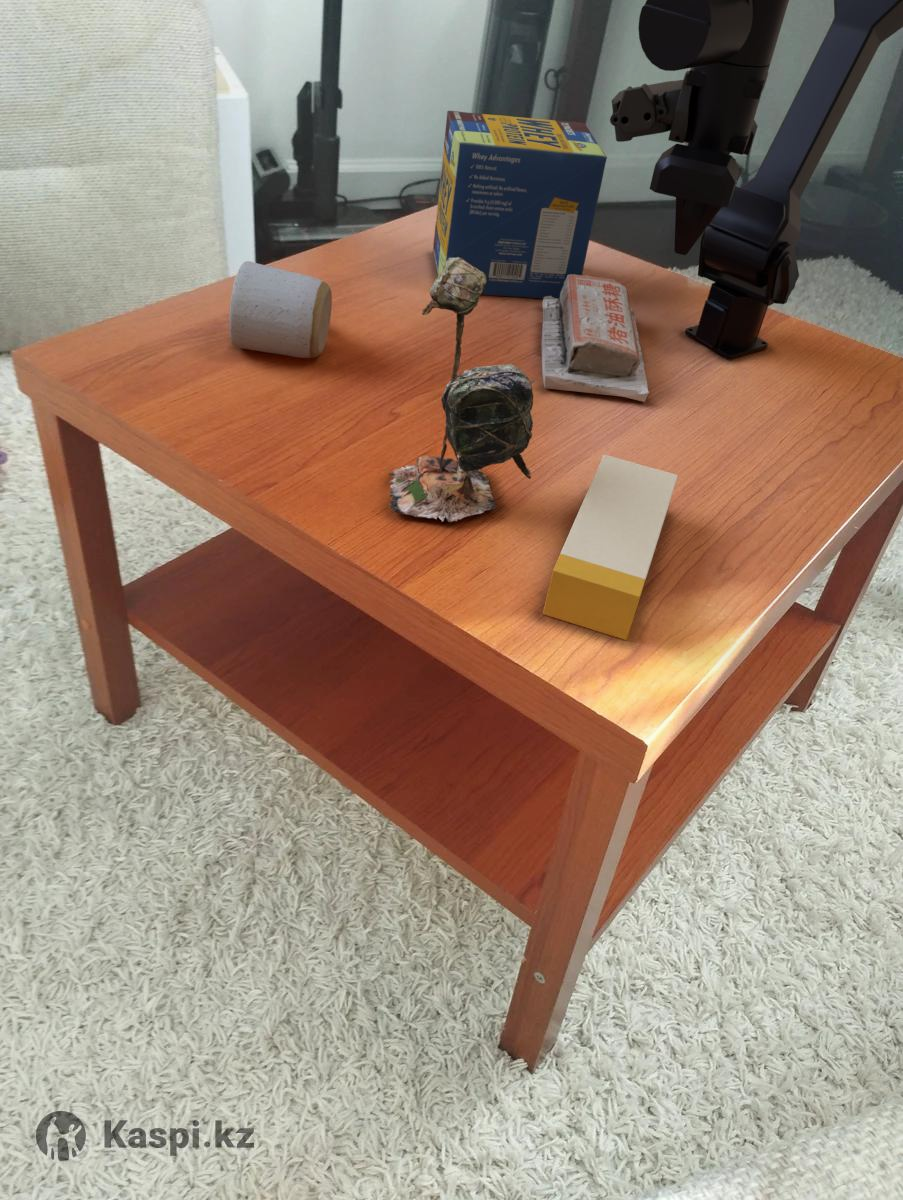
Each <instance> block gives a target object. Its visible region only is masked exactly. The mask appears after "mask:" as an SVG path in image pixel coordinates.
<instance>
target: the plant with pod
mask: <svg viewBox="0 0 903 1200" xmlns="http://www.w3.org/2000/svg"><path fill="white" fill-rule="evenodd" d="M485 284H486V276H485V274H484V273H483V272H481V271H480V270H478V269H477V268H476V267H473V266H472V265H470V264H469V263H468V262H466V261H465V260H463V259H462V258H459V257H455V258H453V257H450V258H448V259H447V261H446V262H445V265H444V267H443V270H442V273H441V274H440V275H439V276H438V275H437V277H436V278H435V279H434V281H433V283H432V285H431V288H430V289H429V295H430V298H431V300H430V301H429V302H427V303H426V306H425V307H424V308H423V309H422V311H421V314H422V315H423V316H427V315H429V314H430V313H431V311H432V310H433V309H440V310H447V311H451V312H454V314H456V323H455V324H456V328H455V331H456V333H455V342H456V343H455V349H454V350H455V351H454V352H455V353H454V361H453V367H452V373H451V375H450V376H451V377H450V381H448V383H447V384H446V385H445V388H444V391H443V395H442V396H441V398H440V399H441V404H442V406H441V407H442V409H443V411H444V413H445V419H444V423H445V428H444V437H443V442H442V450H441V453H440V456H435V455H421V456H418V457H417V458H416V462H415V463H414V464H413V465H407V464H405V467H403V466H401V467H400V468H394V469H393V470H392V472H389V473H387V476H389V477H391V478H392V479H391V480H390V481H388V484H389V483H392V484H391V485H390V488H391V490H388V491H387V492H388V493H389V494H390V496H389V497H391V498H390V501H388V503H389V504H390V505H388V506H387V507H388V508H389V509H391V510H393V511H394V513H398V514H403V515H407V516H413V517H414V518H427V519H435V520H437V519H438V518H439V520H441V522H444V521H445V519H446V520H447V522H448V523H454V522H457V521H459V520H462V519H464V518H467V517H471V516H474V515H482V514H484V513H485V511H491V510H492V511H493V510H497V509H498V504H497V503H496V502H495V500H494V496H493V495H492V494H493V492H492V491H491V488H490V487H491V486H490V485H489V482H490V480H489V479H487V478H488V476H486V475H485V474H484V473H483V471H482V470H483V469H484V468H486V467H489V466H492V465H497V464H498V465H499V464H504V463H505V462H507V461H509V460H511V459H512V460H513V462H514V463H515V465H516V466H517V468H518V469H520V471H521V473H523V475H524V476H525V477H526V478H527V479H528V480H530V479H532V471H531V470H530V468H529V467H528V466H527V464H526V461H525V460H524V459H523V456H522V453H524V451H525V450H526V449H527V448H528V446H529V444H530V440H532V438H533V432H532V431H533V427H534V425H533V424H534V421H533V415H532V413H531V411H532V410H533V405H534V393H533V386H532V384H534V383H535V380H531V381H530V379H529V377H528V376H527V375H526V374H525V372H524V370H522V369H520V368H519V367H517V366H516V365H513V364H511V363H508V364H507V363H505V364H494V365H483V366H474V367H473V368H471V369H466V370H463V372H462V373H461V374H459V375H458V372H459V370H460V364H461V356H462V347H461V345H462V343H463V341H462V338H463V334H464V327H465V316H468V315H470V314H471V313H472V312H473V311H474V309H475V308H476V307H477V306H478V304H479V302H480V297H481V295H482V294H481V293H482V291H483V290H484V287H485ZM447 442H448V443H449V445H450V447H451V448H452V450H453V454H454V456H455V458H456V460H454V459H453V458H450V457H445V455H446V451H447V448H448V447H447V446H448V445H447Z"/></svg>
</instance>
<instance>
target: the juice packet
mask: <svg viewBox="0 0 903 1200" xmlns="http://www.w3.org/2000/svg"><path fill="white" fill-rule="evenodd" d="M678 478H679V475H678V474H676V473H672V472H668V471H665V470H662V469H658V468H654V467H650V466H647V465H643V464H640V463H637V462H633V461H629V460H626V459H623V458H618V457H615V456H612V455H608V454H603V455H602V457H601V460H600V461H599V464H598V467H597V469H596V471H595V473H594V476H593V478H592V480H591V482H590V485H589V487H588V489H587V492H586V494H585V495H584V499H583V501H582V502H581V506H580V507H579V510H578V512H577V514H576V517H575V518H574V521H573V524H572V526H571V528H570V530H569V532H568V535H567V537H566V539H565V542H564V544H563V547H562V549H561V551H560V554H559V556H558V558H557V560H556V562H555V565H554V567H553V569H552V572H551V577H550V581H549V585H548V589H547V592H546V593H547V594H546V598H545V602H544V606H543V610H542V615H544V616H547V617H550V618H554V619H557V620H561V621H562V622H563V621H564V622H567V623H569V624H573V625H576V626H579V627H583V628H586V629H589V630H592V631H596V632H599V633H602V634H605V635H608V636H611V637H615V638H618V639H620V640H624V641H627V640H628V637H629V635H630V631H631V627H632V624H633V622H634V618H635V615H636V611H637V609H638V605H639V602H640V599H641V596H642V593H643V591H644V588H645V587H644V586H645V583H646V580H647V577H648V574H649V570H650V567H651V564H652V561H653V557H654V554H655V552H656V548H657V545H658V542H659V538H660V535H661V532H662V529H663V525H664V523H665V519H666V516H667V513H668V509H669V507H670V504H671V501H672V500H671V499H672V497H673V494H674V490H675V488H676V483H677V481H678Z"/></svg>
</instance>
